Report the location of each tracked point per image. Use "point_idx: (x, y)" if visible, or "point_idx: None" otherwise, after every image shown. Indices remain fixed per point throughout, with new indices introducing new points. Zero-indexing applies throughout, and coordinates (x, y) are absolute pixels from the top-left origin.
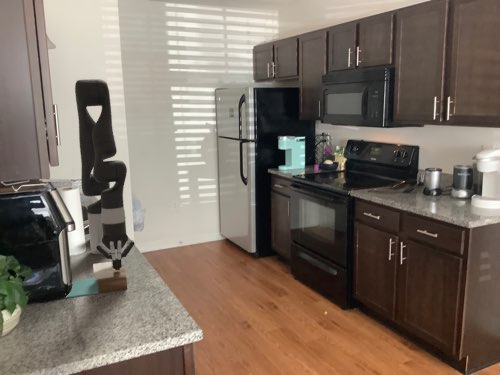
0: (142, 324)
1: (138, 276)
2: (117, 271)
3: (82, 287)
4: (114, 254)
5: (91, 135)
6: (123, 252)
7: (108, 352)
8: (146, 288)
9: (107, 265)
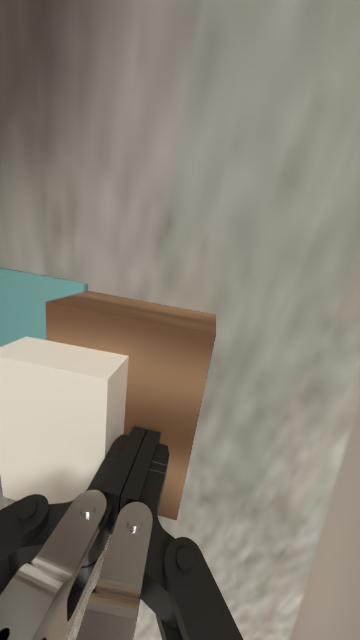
0: None
1: (274, 368)
2: (151, 426)
3: None
4: (69, 610)
5: None
6: (170, 603)
7: None
8: (252, 502)
9: (76, 439)
